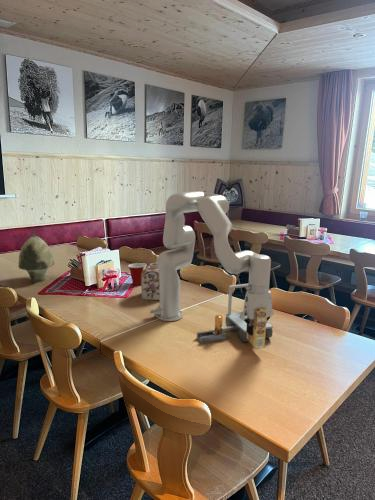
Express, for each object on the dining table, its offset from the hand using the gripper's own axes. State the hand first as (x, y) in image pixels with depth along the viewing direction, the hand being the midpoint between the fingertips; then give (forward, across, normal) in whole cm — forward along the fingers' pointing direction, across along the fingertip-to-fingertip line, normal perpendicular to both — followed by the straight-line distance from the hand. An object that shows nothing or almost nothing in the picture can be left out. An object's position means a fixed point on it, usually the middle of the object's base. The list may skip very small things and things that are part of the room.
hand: (255, 332), depth 141 cm
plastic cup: (+8, -26, +90) cm, 94 cm away
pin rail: (+8, -12, +14) cm, 20 cm away
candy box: (+5, 0, 0) cm, 5 cm away
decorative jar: (+8, -22, +68) cm, 72 cm away
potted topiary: (+8, -80, +115) cm, 141 cm away
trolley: (+8, +5, +14) cm, 17 cm away
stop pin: (+7, -6, +14) cm, 17 cm away
